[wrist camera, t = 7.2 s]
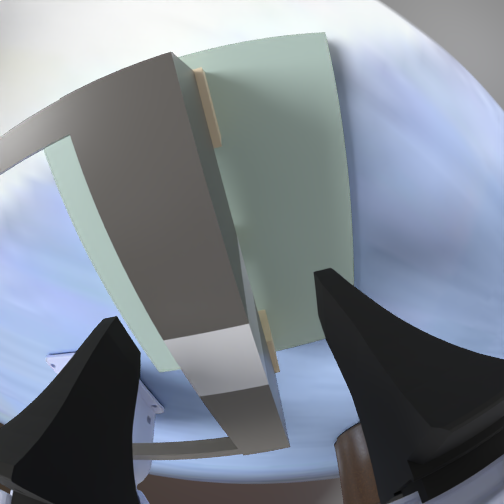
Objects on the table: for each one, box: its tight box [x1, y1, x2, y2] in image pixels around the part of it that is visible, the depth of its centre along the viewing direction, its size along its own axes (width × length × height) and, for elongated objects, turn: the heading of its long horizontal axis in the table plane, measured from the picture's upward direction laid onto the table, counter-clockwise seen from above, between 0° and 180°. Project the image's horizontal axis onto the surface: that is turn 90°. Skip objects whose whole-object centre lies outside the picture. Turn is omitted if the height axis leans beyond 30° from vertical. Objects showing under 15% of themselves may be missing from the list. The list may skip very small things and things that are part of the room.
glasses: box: [0, 52, 290, 460], centre depth 11 cm, size 16×10×5 cm, turn 12°
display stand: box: [44, 32, 354, 373], centre depth 14 cm, size 18×14×4 cm
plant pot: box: [334, 423, 401, 504], centre depth 27 cm, size 16×16×16 cm
